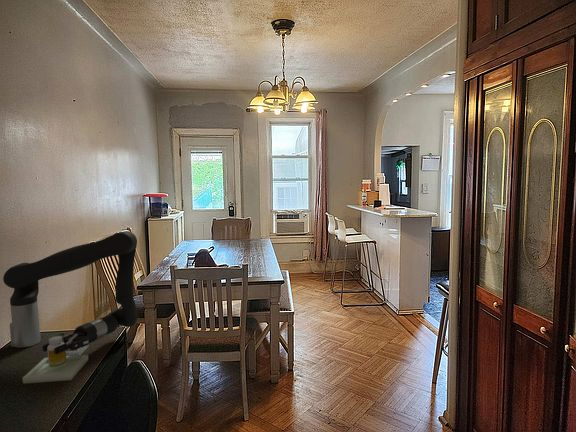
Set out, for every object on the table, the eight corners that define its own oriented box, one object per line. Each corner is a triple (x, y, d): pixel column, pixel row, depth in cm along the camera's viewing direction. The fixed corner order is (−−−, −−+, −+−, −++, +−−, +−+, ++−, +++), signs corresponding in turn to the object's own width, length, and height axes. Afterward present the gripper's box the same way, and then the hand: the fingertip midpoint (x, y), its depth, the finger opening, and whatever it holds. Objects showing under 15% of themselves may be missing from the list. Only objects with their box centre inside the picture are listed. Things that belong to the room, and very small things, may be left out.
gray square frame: (52, 358, 148) (51, 353, 148) (63, 347, 157) (63, 343, 157) (79, 356, 149) (78, 351, 149) (88, 346, 158) (88, 341, 158)
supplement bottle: (69, 364, 138) (66, 337, 137) (51, 370, 134) (49, 342, 133) (63, 360, 141) (61, 333, 140) (46, 365, 137) (44, 338, 136)
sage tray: (22, 383, 129) (22, 377, 129) (45, 362, 144) (45, 357, 144) (71, 380, 131) (70, 374, 131) (88, 359, 146) (88, 354, 146)
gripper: (77, 320, 152) (34, 336, 137) (104, 324, 147) (62, 342, 131) (78, 338, 153) (36, 357, 138) (105, 343, 147) (64, 364, 132)
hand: (49, 350), depth 134 cm, fingers closed on supplement bottle, 5 cm apart
